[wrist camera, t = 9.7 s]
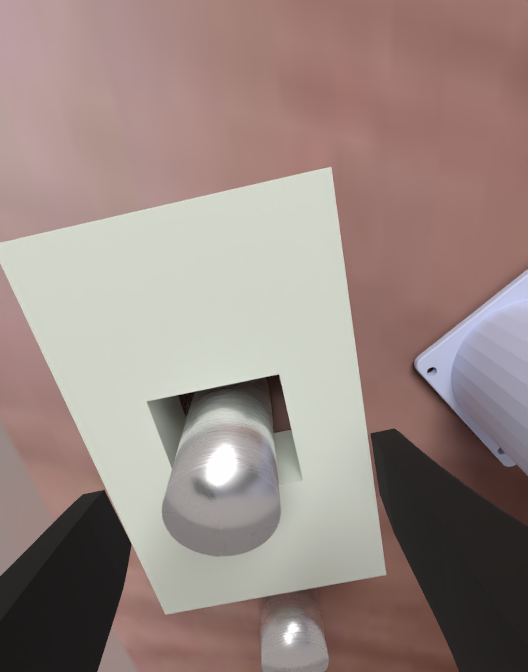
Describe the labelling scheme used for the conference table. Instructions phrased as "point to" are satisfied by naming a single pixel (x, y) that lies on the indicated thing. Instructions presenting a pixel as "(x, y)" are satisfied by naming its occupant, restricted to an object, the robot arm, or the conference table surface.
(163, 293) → the pin board
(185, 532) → the tall pin
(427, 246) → the conference table surface
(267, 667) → the short pin
